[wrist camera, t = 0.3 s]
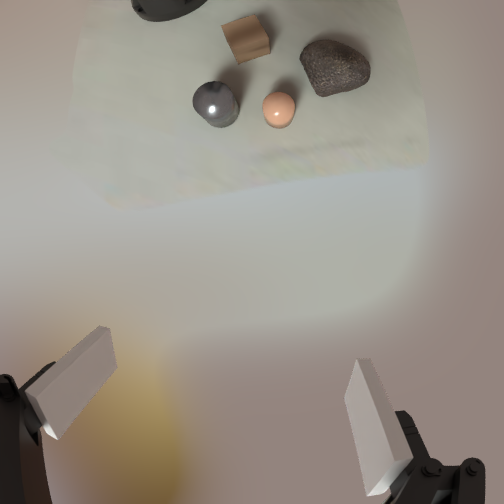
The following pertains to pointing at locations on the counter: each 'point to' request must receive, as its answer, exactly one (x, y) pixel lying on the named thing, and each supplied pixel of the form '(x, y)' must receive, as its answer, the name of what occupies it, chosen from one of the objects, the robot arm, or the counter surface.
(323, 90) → the stone
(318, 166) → the counter surface
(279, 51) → the counter surface
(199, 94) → the metal tin
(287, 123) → the peach rounded capsule
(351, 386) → the robot arm
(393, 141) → the counter surface
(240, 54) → the walnut block
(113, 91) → the counter surface
